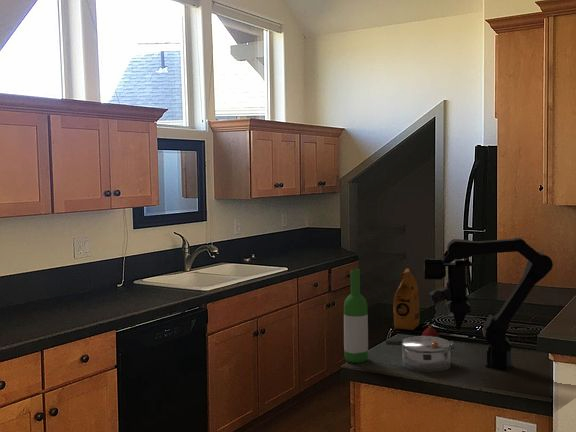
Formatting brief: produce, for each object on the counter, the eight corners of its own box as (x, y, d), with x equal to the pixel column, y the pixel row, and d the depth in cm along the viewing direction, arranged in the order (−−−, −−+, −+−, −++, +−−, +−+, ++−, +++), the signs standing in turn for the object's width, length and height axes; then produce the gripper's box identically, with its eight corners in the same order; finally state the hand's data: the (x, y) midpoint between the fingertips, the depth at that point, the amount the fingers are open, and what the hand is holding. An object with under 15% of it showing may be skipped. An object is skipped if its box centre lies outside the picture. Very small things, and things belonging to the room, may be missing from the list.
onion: (426, 344, 229) (426, 322, 229) (441, 347, 226) (441, 324, 225) (418, 348, 225) (418, 326, 224) (434, 351, 221) (434, 328, 220)
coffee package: (389, 328, 251) (389, 272, 249) (397, 321, 262) (397, 267, 260) (415, 331, 247) (415, 274, 245) (422, 323, 258) (422, 268, 256)
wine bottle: (371, 362, 211) (370, 271, 208) (347, 364, 209) (346, 272, 207) (364, 355, 218) (363, 267, 216) (341, 357, 217) (340, 268, 214)
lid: (452, 340, 213) (452, 333, 213) (456, 354, 198) (456, 346, 198) (386, 337, 217) (386, 331, 217) (385, 351, 202) (385, 344, 202)
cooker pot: (448, 355, 216) (448, 338, 216) (452, 375, 197) (452, 355, 197) (402, 354, 219) (402, 336, 218) (402, 373, 200) (402, 354, 199)
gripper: (429, 274, 214) (430, 321, 216) (432, 285, 196) (433, 336, 197) (464, 274, 212) (465, 321, 214) (470, 285, 194) (471, 337, 196)
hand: (457, 328), depth 205 cm, fingers closed
